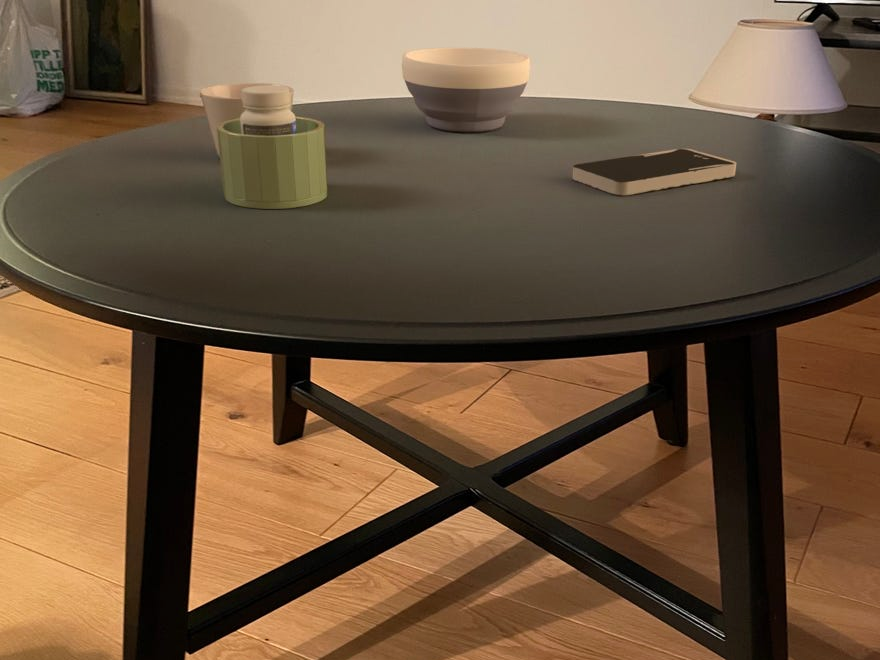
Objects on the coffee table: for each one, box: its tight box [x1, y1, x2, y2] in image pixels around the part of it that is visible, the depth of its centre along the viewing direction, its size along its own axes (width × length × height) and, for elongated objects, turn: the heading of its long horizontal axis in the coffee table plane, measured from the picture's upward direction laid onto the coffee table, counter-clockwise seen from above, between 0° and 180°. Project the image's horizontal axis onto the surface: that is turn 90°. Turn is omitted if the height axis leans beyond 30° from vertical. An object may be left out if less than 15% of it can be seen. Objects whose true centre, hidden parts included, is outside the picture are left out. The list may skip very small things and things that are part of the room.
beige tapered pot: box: [199, 82, 294, 158], centre depth 102 cm, size 9×9×6 cm
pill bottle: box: [240, 85, 297, 136], centre depth 89 cm, size 5×5×8 cm
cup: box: [217, 115, 329, 210], centre depth 90 cm, size 9×9×6 cm
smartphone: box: [572, 148, 737, 197], centre depth 99 cm, size 8×1×15 cm
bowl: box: [401, 46, 531, 134], centre depth 117 cm, size 14×14×8 cm
